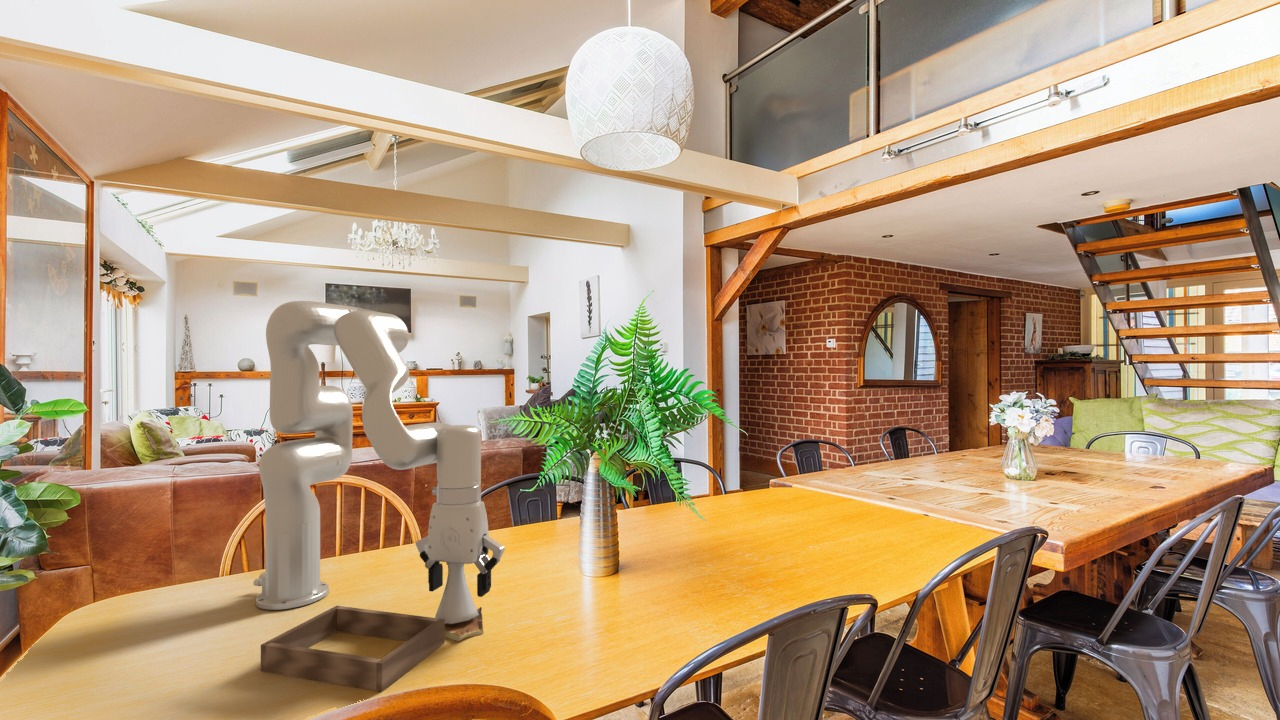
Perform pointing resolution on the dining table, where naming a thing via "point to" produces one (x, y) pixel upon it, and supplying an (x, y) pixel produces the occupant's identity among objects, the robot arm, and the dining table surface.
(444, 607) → the flask
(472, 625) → the shard
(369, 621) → the brown wooden frame
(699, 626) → the dining table surface
